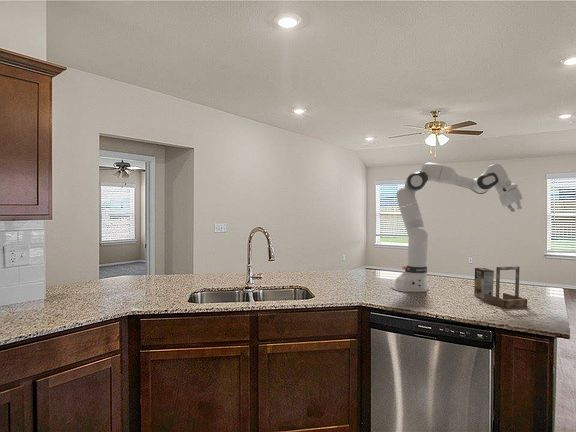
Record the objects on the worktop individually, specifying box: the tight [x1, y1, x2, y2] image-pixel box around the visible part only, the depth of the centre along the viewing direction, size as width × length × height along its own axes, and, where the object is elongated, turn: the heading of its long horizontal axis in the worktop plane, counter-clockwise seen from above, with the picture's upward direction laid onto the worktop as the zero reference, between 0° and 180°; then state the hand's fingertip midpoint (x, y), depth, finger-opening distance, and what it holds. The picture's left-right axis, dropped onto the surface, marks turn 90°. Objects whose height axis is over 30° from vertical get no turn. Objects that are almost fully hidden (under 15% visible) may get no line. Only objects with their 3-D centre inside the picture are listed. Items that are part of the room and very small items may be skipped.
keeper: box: [483, 266, 528, 309], centre depth 215 cm, size 13×15×20 cm
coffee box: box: [473, 267, 495, 300], centre depth 231 cm, size 9×6×16 cm
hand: (516, 210), depth 237 cm, fingers open, 8 cm apart
